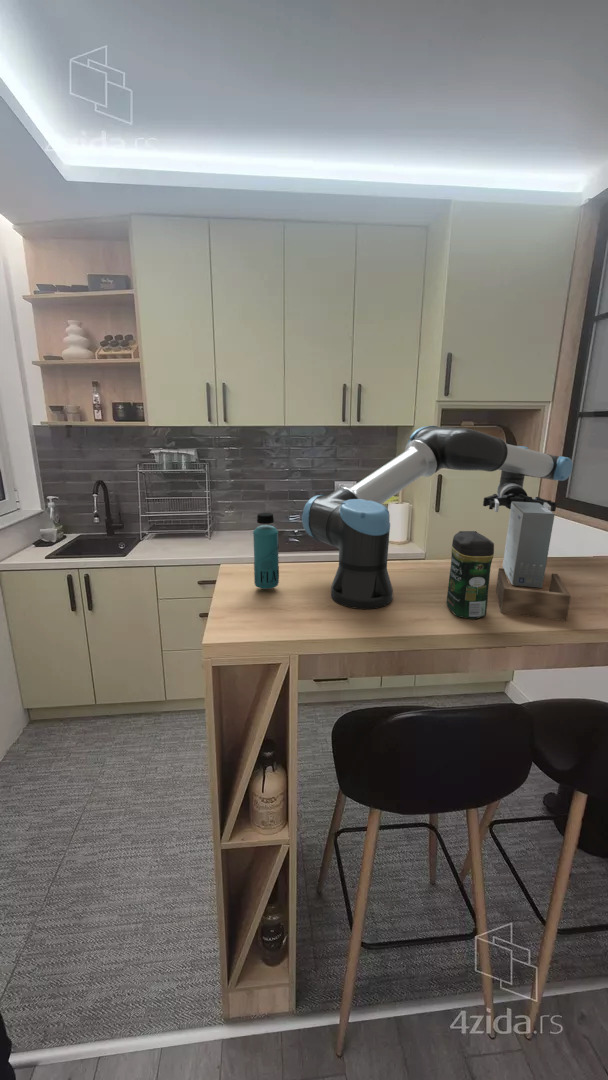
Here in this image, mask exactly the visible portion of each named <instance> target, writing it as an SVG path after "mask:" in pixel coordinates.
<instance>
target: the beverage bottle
mask: <svg viewBox="0 0 608 1080" xmlns="http://www.w3.org/2000/svg"><path fill="white" fill-rule="evenodd" d="M256 515H257V519H256V523H258V524H261V525H259V526H256V528H255V529H253V531H252V534H253V536H252V537H253V567H254V568H253V570H254V571H253V579H254V580H253V582H254V586H256V587H257V588H259V589H265V590H266V589H274V588H276V587H277V586H279V583H280V566H279V565H280V561H279V559H280V557H279V549H280V547H279V530H278V529H277V528H276V527H275V526H274V525H269V524H273V523H274V522H275V519H274V513H271V512H260V513H258V514H256Z"/></svg>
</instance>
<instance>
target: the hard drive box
mask: <svg viewBox="0 0 608 1080" xmlns="http://www.w3.org/2000/svg"><path fill="white" fill-rule="evenodd" d="M509 511H510V512H509V517H508V518H509V519H508V525H507V531H506V540H505V547H504V552H503V553H504V554H503V559H502V560H503V561H502V568H504V570H505V574H506V577H507V579H508V582H510V583H511V586H518V587H520V586H521V587H526V588H527V587H529V588H539V589H542V588H543V585H544V579H545V575H546V569H547V568H546V567H547V561H548V557H549V556H548V555H549V550H550V546H551V544H550V543H551V538H552V537H551V536H552V533H553V525H554V520H555V516H556V514H555V513H554V512H553V511H552V512H551V511H550V510H548V509H547V508H546V507H544V506H543V505H541V504H540V503H532V502H513V501H512V502H511V509H509Z"/></svg>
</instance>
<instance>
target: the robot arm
mask: <svg viewBox="0 0 608 1080" xmlns="http://www.w3.org/2000/svg"><path fill="white" fill-rule="evenodd" d="M409 439H410V440H408V441H407V443H406V445H405V449H404V451H403V452H402V453H401V454H398V455H397V456H395V457H394V458H392V459H391V460H390V461H388V462H387V463H385V464H384V465H383V466H380V467H378V469H376V470H375V471H373V472H371V473H370V474H369V475H367V476H365V477H364V478H362V480H360V481H358V482H357V483H354V485H351V487H349V488H348V487H344V486H341V487H339V488H337V489H336V490H334V491H333V492H331V493H330V494H328V495H324V494H320V495H319V494H318V495H314V496H312V497H311V498H309V500H308V501H306V503H305V505H304V507H303V509H302V510H303V511H302V512H303V513H301V514H302V515H301V523H302V528H303V529H304V531H305V532H306V533H307V534H308V535H309V536H310V537H312V538H313V539H315V540H316V541H318V542H322V543H325V544H326V545H329V546H332V547H334V548H337V549H339V550H338V567H337V569H336V573H335V574H334V577H333V581H332V583H331V586H330V598H331V599H332V600H333V601H334V602H335V603H337V604H339V605H341V606H344V607H348V608H352V609H357V610H358V609H362V610H368V609H370V610H371V609H378V608H382V607H385V606H388V605H389V604H390V603H391V602H392V601H393V594H394V593H393V592H394V591H393V587H392V583H391V579H390V575H389V571H388V555H389V554H388V553H389V543H390V529H391V522H390V517H391V516H390V511H389V510H388V508H387V507H386V506H385V505H383V504H384V503H386V502H387V501H388V500H390V499H391V498H392V497H394V496H395V495H397V494H398V493H400V492H401V491H403V490H404V489H405V488H407V487H408V486H409V485H411V484H412V483H414V482H415V481H417V480H419V479H420V478H421V477H424V478H425V477H426V478H427V477H428V478H429V477H431V476H433V475H434V474H436V473H437V472H438V471H440V470H442V469H448V470H456V471H481V472H482V471H483V472H490V473H491V472H495V471H498V470H499V471H501V473H500V479H499V484H498V486H497V491H496V492H497V493H494V494H492V495H489V496H484V497H483V501H482V503H483V504H482V506H483V507H488V509H489V510H494V512H495V513H499V507H502V506H503V507H504V508H507V509H509V510H511V502H512V501H513V502H532V503H540V504H541V505H543V506H544V507H546V508H547V509H548V510H550V511H551V512H553V513H554V512H556V510H557V505H558V503H557V502H556V501H555V502H554V501H552V500H550V499H548V500H547V499H545V498H541V497H540V496H536V497H534V498H533V497H532V496H530V495H529V496H528V494H527V492H526V490H525V489H524V480H525V477H532V478H538V479H545V480H551V481H561V482H562V481H566V480H567V479H568V478H569V477H570V475H571V474H572V470H573V467H574V466H573V460H572V459H571V458H570V457H568V456H567V457H566V456H562V455H552V454H549V453H545V452H540V451H537V450H533V449H529V447H528V446H523V445H513V444H508V443H507V442H506V441H505V440H504V439H503V438H501V437H497V436H494V435H491V434H488V433H484V432H482V431H479V430H475V429H471V428H466V427H451V426H450V427H449V426H448V427H446V426H438V425H428V426H427V425H426V426H421V427H419V428H417V429H416V430H415V431H413V432H412V433H411V435H410V437H409Z"/></svg>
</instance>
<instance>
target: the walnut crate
mask: <svg viewBox="0 0 608 1080" xmlns="http://www.w3.org/2000/svg"><path fill="white" fill-rule="evenodd" d="M495 587H496V588H495V592H496V596H497V600H498V604H499V610H500V613H501V614H507V615H508V614H509V615H515V616H516V615H517V616H525V617H531V618H541V619H547V620H557V621H563V622H566V621H567V619H568V613H569V607H570V603H571V597H572V596H571V593H570V592H569V591H568V589H567V587H566V586H565V584H564V582H563V581H562V579H561V577H560V576H559V575H558V573H553V572H552V573H551V578H550V583H549V589H548V590H547V591H545V590H539V589H537V590H536V589H531V588H529V589H528V588H518V587H511V586H510V584H509V579H508V576H507V574H506V572H505V570H504V568H503V567H501V568H500V567H499V568H498V572H497V580H496V586H495Z"/></svg>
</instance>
